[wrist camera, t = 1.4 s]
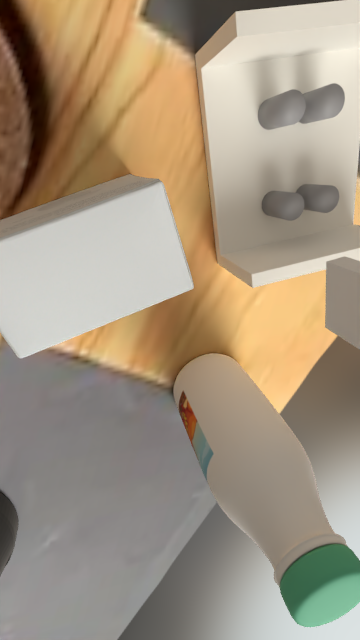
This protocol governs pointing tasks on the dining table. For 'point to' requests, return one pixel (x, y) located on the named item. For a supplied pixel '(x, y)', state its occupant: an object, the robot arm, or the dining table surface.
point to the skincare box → (88, 262)
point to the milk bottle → (266, 487)
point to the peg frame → (282, 138)
